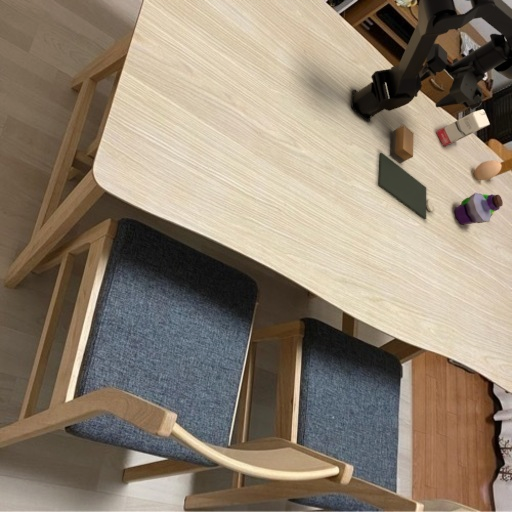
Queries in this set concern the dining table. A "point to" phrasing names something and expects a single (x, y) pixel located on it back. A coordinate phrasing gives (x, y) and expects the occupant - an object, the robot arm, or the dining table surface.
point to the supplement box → (505, 166)
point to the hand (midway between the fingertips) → (424, 95)
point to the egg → (487, 170)
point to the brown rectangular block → (402, 144)
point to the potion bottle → (477, 208)
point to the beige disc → (429, 205)
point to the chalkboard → (402, 186)
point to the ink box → (463, 127)
